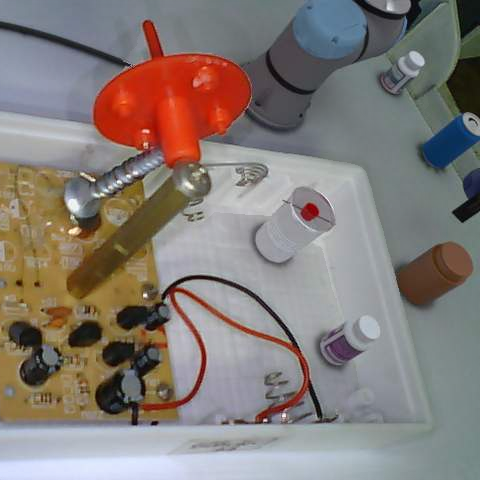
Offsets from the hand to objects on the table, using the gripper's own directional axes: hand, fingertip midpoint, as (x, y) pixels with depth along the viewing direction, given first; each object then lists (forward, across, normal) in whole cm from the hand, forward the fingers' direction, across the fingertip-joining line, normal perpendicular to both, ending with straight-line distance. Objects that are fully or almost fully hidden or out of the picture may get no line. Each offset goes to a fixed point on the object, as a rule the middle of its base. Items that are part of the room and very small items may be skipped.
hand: (465, 204), depth 143 cm
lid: (-6, 0, 0) cm, 6 cm away
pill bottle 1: (+12, +38, -1) cm, 40 cm away
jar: (+11, +13, +4) cm, 17 cm away
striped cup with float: (+11, +31, -20) cm, 39 cm away
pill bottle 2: (+11, -29, -25) cm, 40 cm away
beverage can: (+11, -21, -8) cm, 25 cm away
